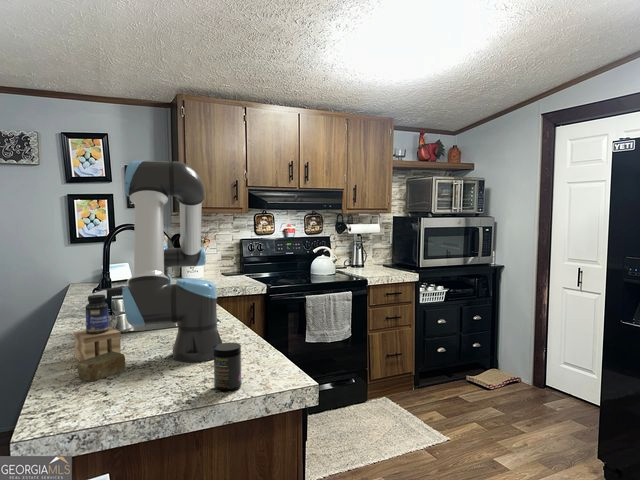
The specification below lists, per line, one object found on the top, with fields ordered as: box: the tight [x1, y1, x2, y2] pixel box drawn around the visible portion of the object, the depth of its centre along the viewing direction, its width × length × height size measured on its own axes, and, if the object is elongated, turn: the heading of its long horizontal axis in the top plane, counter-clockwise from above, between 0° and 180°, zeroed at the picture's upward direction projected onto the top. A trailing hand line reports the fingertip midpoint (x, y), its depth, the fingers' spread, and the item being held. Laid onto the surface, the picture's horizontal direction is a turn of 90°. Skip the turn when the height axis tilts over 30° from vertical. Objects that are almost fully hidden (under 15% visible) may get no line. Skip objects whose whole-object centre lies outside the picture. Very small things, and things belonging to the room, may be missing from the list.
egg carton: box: [108, 315, 118, 329], centre depth 172 cm, size 11×8×4 cm
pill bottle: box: [85, 294, 109, 334], centre depth 131 cm, size 6×6×11 cm
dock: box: [73, 327, 122, 362], centre depth 132 cm, size 10×10×8 cm
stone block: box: [76, 351, 126, 382], centre depth 118 cm, size 6×12×5 cm, turn 153°
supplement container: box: [213, 342, 243, 393], centre depth 108 cm, size 7×7×10 cm
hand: (114, 297), depth 140 cm, fingers open, 13 cm apart
